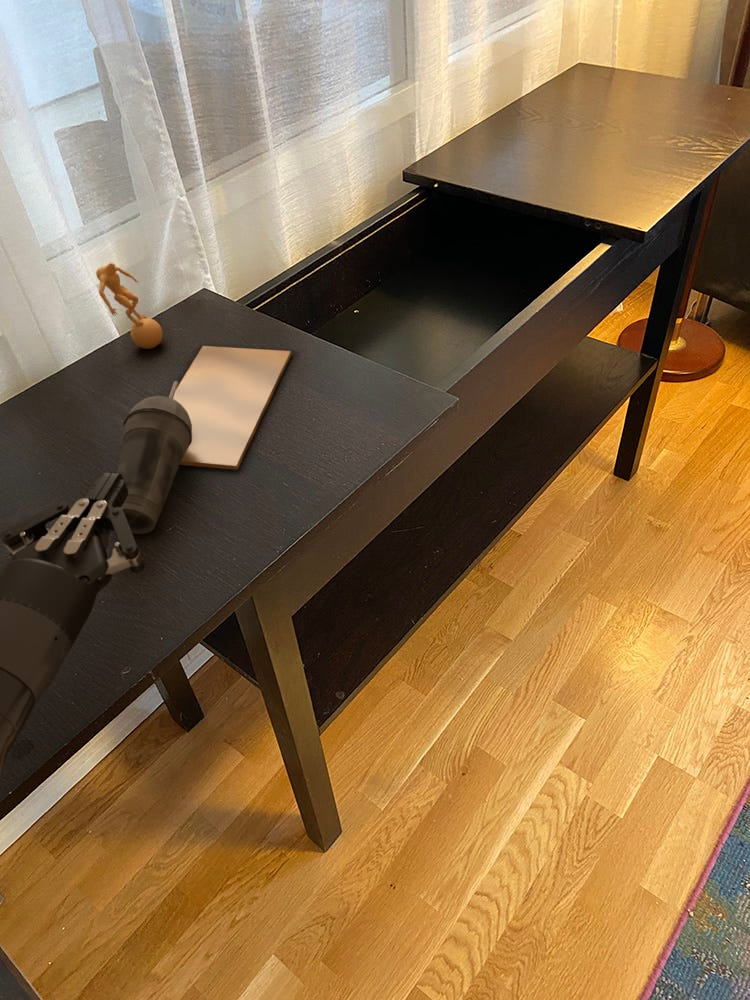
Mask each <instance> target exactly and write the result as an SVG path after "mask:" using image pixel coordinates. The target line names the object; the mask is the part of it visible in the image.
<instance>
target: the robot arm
mask: <svg viewBox="0 0 750 1000" xmlns="http://www.w3.org/2000/svg"><path fill="white" fill-rule="evenodd" d="M127 496H128V489H127V486H126V483H125V481H124V479H123V477H122V475H121V474H117V472H116V473H115V472H104V473H103V474H102V476H101V477H98V478H97V479H95V480H94V482H93V483H92V484H91V486H90V488H89V489H88V491H87V493H86V494H85V496H84V497H83V498H81V499H80V498H79V499H78V500H76V502H75V503H73V504H68V503H67V502H66V501H59V502H56V503H54V504H52V505H50V506H49V507H47V508H45V509H43V510H41V511H40V512H38V513H35V514H33V515H32V516H30V517H28V518H26V519H24V520H22V521H21V522H19V523H17V524H15V525H12V526H11V527H10V528H7V529H5V530H4V531H2V532H1V533H0V540H1V541H2V543H3V546H4V547H5V549H6V550H7V552H8V553H9V555H10V557H11V559H10V562H8V563H6V564H5V565H4V566H3V567H2V568H1V570H0V782H1V780H2V775H3V771H4V766H5V763H6V759H7V755H8V753H9V752H10V750H11V748H12V747H13V745H14V743H15V742H16V740H17V738H18V736H19V735H20V733H21V731H22V729H23V727H24V726H25V723H26V722H27V721H28V719H29V717H30V715H31V713H32V712H33V710H34V708H35V706H36V704H37V703H38V702H39V700H40V698H41V697H42V695H44V693H45V692H46V691H47V690H48V688H49V686H50V685H51V684H52V682H53V680H55V677H57V674H58V672H59V671H60V668H61V667H62V665H63V663H64V661H65V659H66V657H67V656H68V654H69V653H70V651H71V649H72V647H73V645H74V644H75V642H76V641H77V638H78V636H79V635H80V633H81V631H82V630H83V627H84V626H85V623H86V622H87V620H88V618H89V617H90V615H91V613H92V611H93V608H94V604H95V600H96V597H97V595H98V594H99V592H100V591H101V590H102V589H103V588H105V587H107V586H108V584H109V583H110V582H111V580H112V579H113V575H114V574H117V573H120V572H122V571H125V570H127V569H129V570H130V572H131V573H135V574H137V573H138V574H139V573H140V572H142V571H143V570H144V569H145V567H146V565H145V562H144V559H143V556H142V555H141V551H140V549H139V547H138V544H137V541H136V539H135V537H134V533H132V531H131V529H130V526H129V524H128V521H127V519H126V517H125V514H124V512H123V509H122V508H121V506H122V505H123V502H124V501H125V499H126V498H127ZM56 519H57V520H56ZM54 520H56V521H55V522H54V524H52V525H51V526H48V527H46V526H47V524H48V523H51V522H52V521H54ZM112 531H114V532H115V536H116V538H117V541H116V542H114V544H113V546H114V547H113V548H112V550H111V551H112V552H111V556H110V557H109V556H108V552H107V549H108V548H109V547H108V546H109V537H110V536H111V533H112Z"/></svg>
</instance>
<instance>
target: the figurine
mask: <svg viewBox="0 0 750 1000" xmlns="http://www.w3.org/2000/svg"><path fill="white" fill-rule="evenodd" d="M118 272H119V273H120V274H122V275H123V276H126V277H128V278H130V279H132V280H133V281H134V282H135V283H137V284H138V283H139V281H138V280H137V278H135V277H134V276H133V275H131V274H130V273H129V272H127V271H125V270H123V269H122V268H121V267H119V266H116V264H115V263H114V262H109V263H108V264H107V265H104V266H100V267H98V268H97V270H96V272H95V275H96V278H97V279H98V281H99V288H98V294H99V296H100V297H101V299H102V300H103V302H104V303H105V305H106V307H108V310H109V313H110V314H111V315H112V316H113V317H115V316H116V317H117V315H118V313H117V309H116V308H114V307H112V305H111V302H110V301H109V299H108V298H107V295H106V294H105V288H108V289H109V290H110V291H111V293H112V294H113V299H114V301H115V302H116V303H118V304H119V305H121V306H123V308H126V310H125V315H126V316H127V318H128V319H129V320H130V321H131V322H132V323H133V324H132V326H131V328H130V337H131V339H132V341H133V343H134V344H135V345H136V346H138V347H139V348H141V349H145V350H151V349H154V348H156V347H158V346H159V345H160V343H161V342H162V339H163V329H162V326H161V325H160V323H158V321H156V320H155V319H153V318H150V317H147V316H146V315H143V314H140V313H139V312H138V311H137V310H136V309H135V308H136V307H137V305H138V303H139V298H138V296H137V295H135V294H133V293H132V292H131V291H130V290H128V288H127V287H126V286H125V285H123V284H122V285H121V277H120V275H119V273H118ZM131 301H132V302H131ZM132 314H134V316H135V317H137V319H136V318H135V317H134V316H132Z"/></svg>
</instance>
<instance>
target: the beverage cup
mask: <svg viewBox="0 0 750 1000" xmlns="http://www.w3.org/2000/svg"><path fill="white" fill-rule="evenodd" d="M178 386H179V381H178V380H174V382H173V384H172V387H171V389H170V392H169V395H168V396H165V395H152V396H149V397H145V398H143V399H142V400H140V401H139V402H138V403H136V404H135V405H134V406H133V407H131V410H130V411H129V413H128V415H126V418H125V419H124V421H123V433H122V446H121V450H120V455H119V459H118V460H119V461H118V466H117V470H116V473H117V474H121V475H122V477H123V479H124V481H125V483H126V486H127V489H128V496H127V498H126V499H125V501H124V502H123V505H122V506H121V508H122V509H123V512H124V514H125V517H126V519H127V521H128V524H129V526H130V529H131V531H132V534H137V535H139V534H140V535H143V534H148V533H151V532H152V531H153V530H154V529H155V528H156V524H157V522H158V520H159V519H160V516H161V515H162V511H163V509H164V507H165V503H166V501H167V499H168V495H169V493H170V491H171V488H172V486H173V483H174V480H175V478H176V475H177V472H178V469H179V467H180V465H179V464H180V462H181V459H182V458H183V456H184V455H185V453H186V451H187V449H188V447H189V446H190V444H191V442H192V424H191V420H190V417H189V415H188V413H187V411H186V410H185V408H184V407H183V406H182V405H181V404H180V403H178V402H177V401H175V400H174V399H173V397H174V394H175V391H176V389H177V387H178Z"/></svg>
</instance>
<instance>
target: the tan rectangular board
mask: <svg viewBox="0 0 750 1000" xmlns="http://www.w3.org/2000/svg"><path fill="white" fill-rule="evenodd" d="M291 357H292V351H291V350H280V349H279V350H278V349H263V348H246V347H245V348H244V347H229V346H211V345H202V346H201V348H200V350H199V351H198V353H197V355H196V357H194V360H193V361H192V363H191V364H190V366H189V367H188V369H187V371H186V372H185V374H184V375H183V377H182V379H181V381H180V382H179V383H178V385H177V388H176V391H175V394H174V397H173V399H174V400H175V401H177V402H178V403H180V404H181V405H182V406H183V407H184V408H185V410H186V411H187V413H188V415H189V417H190V420H191V424H192V442H191V444H190V446H189V447H188V449H187V451H186V453H185V455H184V456H183V458H182V459H181V462H180V464H179V466H190V467H201V468H212V469H221V470H223V469H224V470H235V471H237V470H238V469H239V468H240V465H241V463H242V461H243V459H244V457H245V454H246V452H247V451H248V449H249V446H250V445H251V442H252V440H253V438H254V435H255V434H256V431H257V429H258V427H259V425H260V423H261V421H262V419H263V416H264V414H265V412H266V410H267V408H268V406H269V405H270V402H271V399H272V397H273V396H274V393H275V391H276V388H277V386H278V385H279V382H280V380H281V379H282V376H283V373H284V372H285V369H286V367H287V366H288V363H289V362H290V359H291Z"/></svg>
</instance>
